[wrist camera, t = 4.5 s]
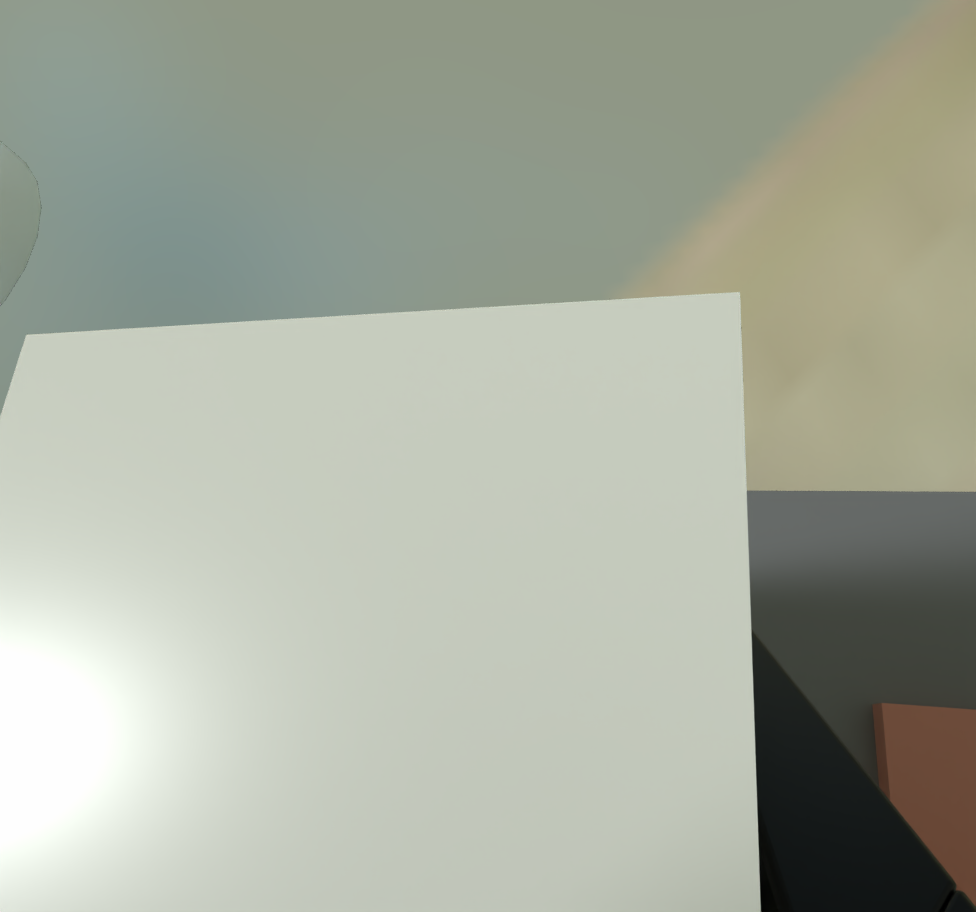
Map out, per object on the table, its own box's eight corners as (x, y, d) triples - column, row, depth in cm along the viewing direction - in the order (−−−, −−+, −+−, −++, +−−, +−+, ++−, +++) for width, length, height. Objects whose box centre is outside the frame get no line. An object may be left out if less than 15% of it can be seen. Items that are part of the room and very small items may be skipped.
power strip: (1032, 539, 14) (1137, 480, 11) (1128, 1135, 11) (1313, 1306, 8) (269, 524, 18) (176, 478, 15) (191, 955, 15) (54, 1017, 12)
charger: (700, 627, 14) (739, 292, 3) (704, 926, 13) (803, 2149, 2) (498, 616, 15) (25, 334, 4) (477, 892, 14) (-353, 1527, 3)
